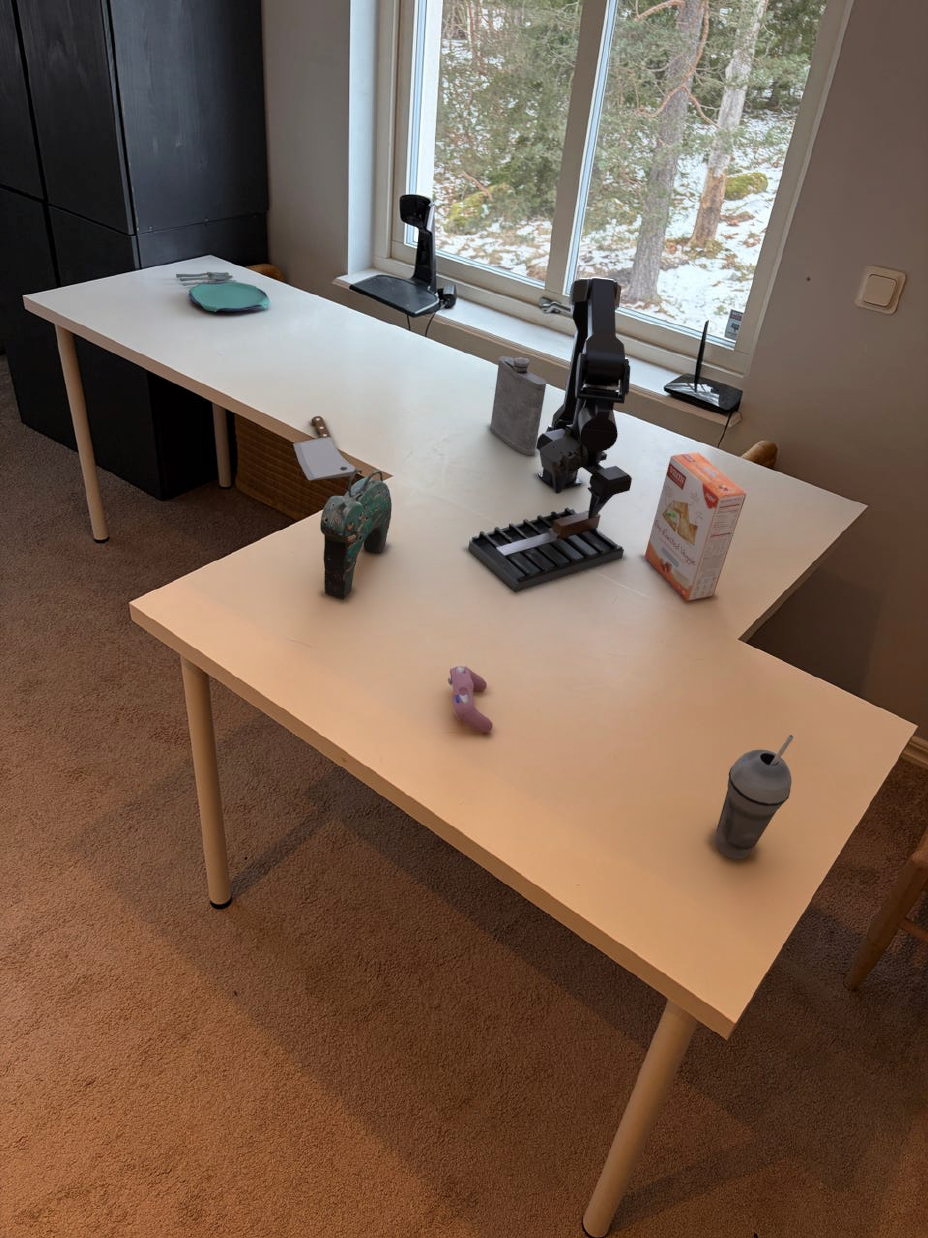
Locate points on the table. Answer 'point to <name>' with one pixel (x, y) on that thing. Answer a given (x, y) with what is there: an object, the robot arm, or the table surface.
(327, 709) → the table surface
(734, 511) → the cracker box
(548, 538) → the knife
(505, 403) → the flask
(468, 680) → the video game controller
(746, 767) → the beverage cup
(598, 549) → the dish rack
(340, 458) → the kitchen cleaver
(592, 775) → the table surface
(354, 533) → the elephant figurine
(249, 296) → the cutlery set
